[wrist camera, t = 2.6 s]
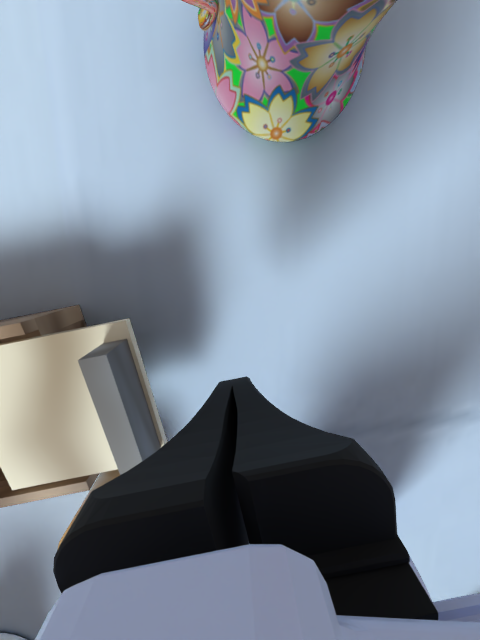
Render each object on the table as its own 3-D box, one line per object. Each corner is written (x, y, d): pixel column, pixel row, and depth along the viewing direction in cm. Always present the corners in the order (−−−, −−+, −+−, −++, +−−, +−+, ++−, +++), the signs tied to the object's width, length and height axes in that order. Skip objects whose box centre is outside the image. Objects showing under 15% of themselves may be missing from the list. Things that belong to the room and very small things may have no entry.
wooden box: (79, 304, 17) (20, 322, 12) (123, 432, 19) (89, 490, 14) (-69, 334, 17) (-186, 363, 12) (-6, 458, 19) (-83, 524, 14)
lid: (129, 318, 13) (103, 333, 10) (170, 452, 15) (158, 494, 12) (-45, 352, 13) (-115, 376, 10) (19, 482, 15) (-26, 530, 12)
